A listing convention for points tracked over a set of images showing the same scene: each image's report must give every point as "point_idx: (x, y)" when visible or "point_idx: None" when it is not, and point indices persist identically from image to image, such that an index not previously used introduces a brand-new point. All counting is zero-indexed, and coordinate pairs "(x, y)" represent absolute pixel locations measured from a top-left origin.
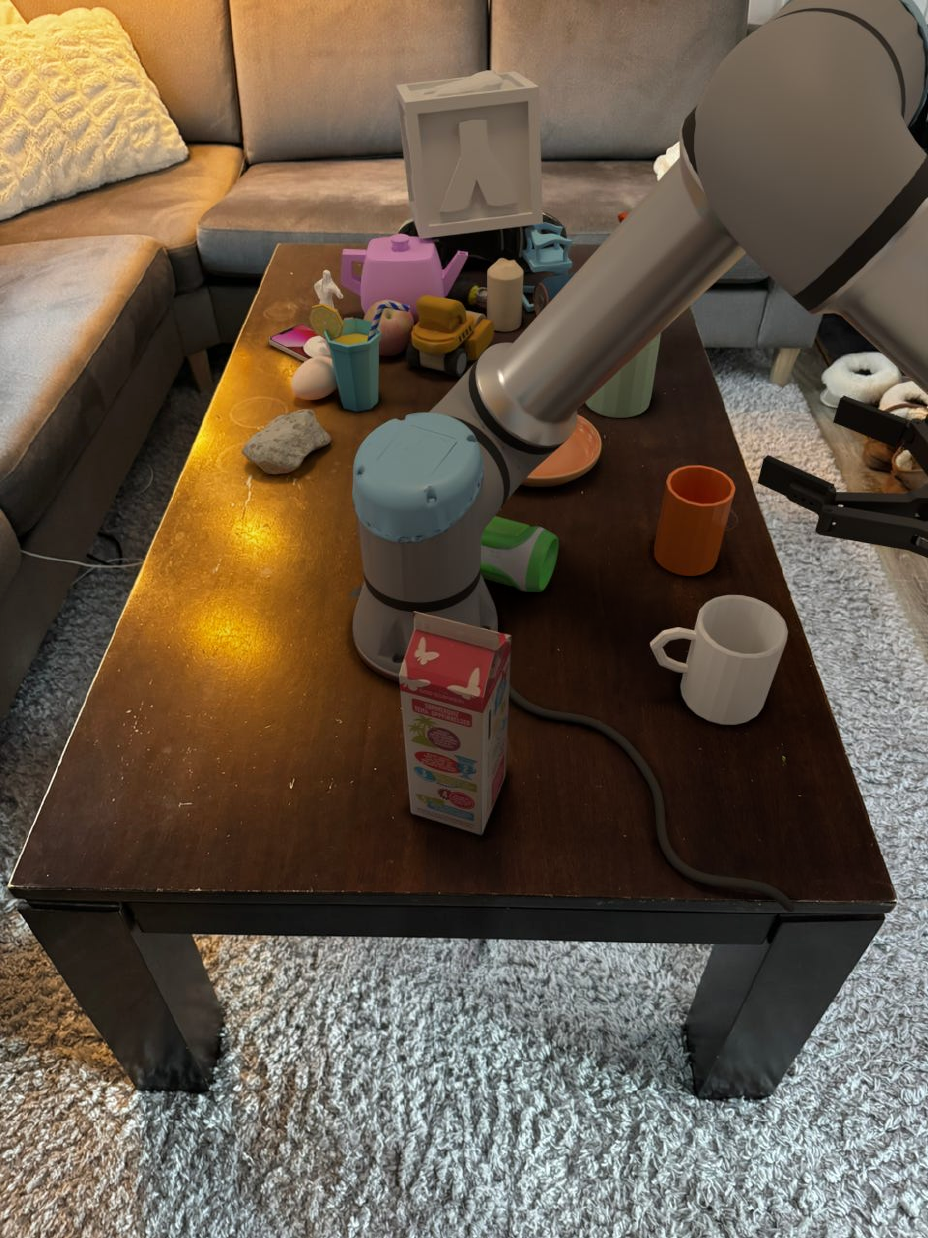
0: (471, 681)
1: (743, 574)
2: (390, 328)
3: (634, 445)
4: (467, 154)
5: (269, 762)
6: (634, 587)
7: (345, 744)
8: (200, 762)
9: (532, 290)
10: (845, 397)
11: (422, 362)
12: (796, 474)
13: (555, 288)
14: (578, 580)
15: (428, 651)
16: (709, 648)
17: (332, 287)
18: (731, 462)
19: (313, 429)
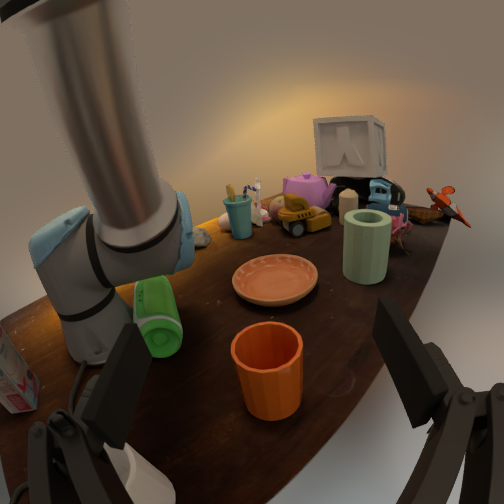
0: None
1: (292, 440)
2: (276, 207)
3: (343, 302)
4: (340, 141)
5: (30, 339)
6: (207, 395)
7: (39, 352)
8: (28, 325)
9: None
10: (388, 299)
11: (283, 226)
12: (103, 367)
13: (371, 208)
14: (188, 367)
15: None
16: None
17: (257, 185)
18: None
19: (196, 236)
